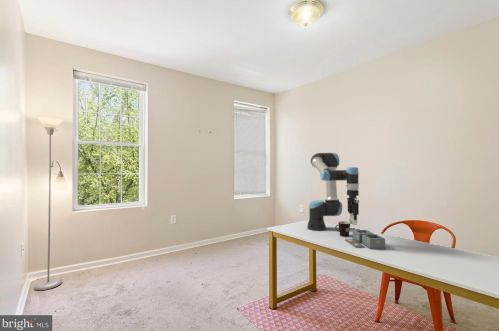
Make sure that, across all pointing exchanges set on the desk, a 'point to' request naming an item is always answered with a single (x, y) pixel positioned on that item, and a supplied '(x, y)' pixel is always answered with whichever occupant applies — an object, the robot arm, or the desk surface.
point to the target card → (354, 243)
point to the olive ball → (351, 220)
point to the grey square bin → (360, 234)
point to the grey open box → (373, 241)
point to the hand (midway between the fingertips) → (353, 223)
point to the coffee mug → (343, 228)
